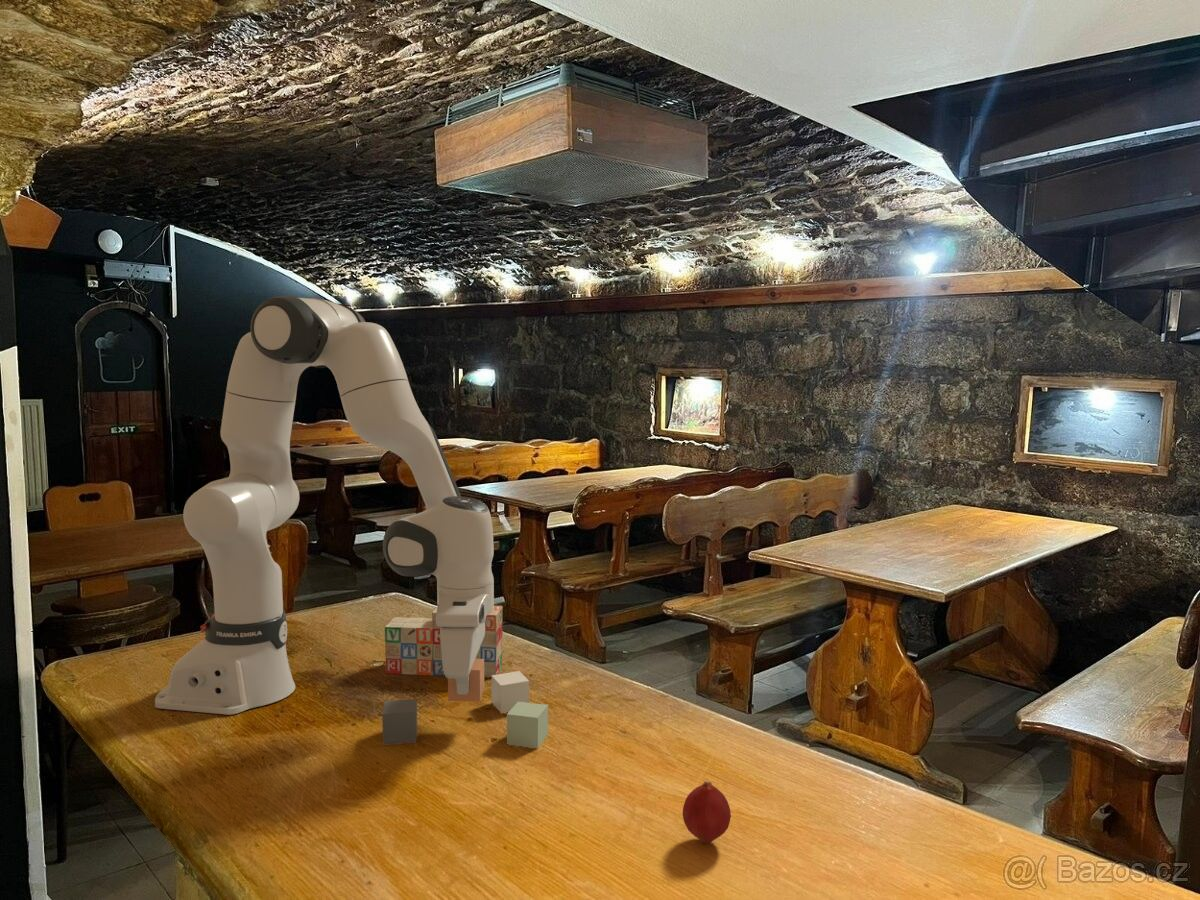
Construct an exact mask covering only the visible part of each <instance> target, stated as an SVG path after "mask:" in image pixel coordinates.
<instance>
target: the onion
mask: <svg viewBox="0 0 1200 900" xmlns="http://www.w3.org/2000/svg"><path fill="white" fill-rule="evenodd" d="M682 818H683V819H682V820H683V822H684V824H685V827H686V829H687V830H688V831H689V832H690V833H691V834H692V836H694V837H695V838H697V839H698V840H700V842H701V843H702V844H705V845H708V844H711V843H712V842H714V841H715V840H716V839H718V838H719V837H721V836H723V834H725V833H726V831H727V830H728V829H729V825H730V822H731V818H732V817H731V808H730V805H729V803H728V799H727V798H726V796H725V795H724V793H723V792H722V791H721V790H720V789H718V787H716V786H714V785H713V784H712V782H711V781H710V780H705V781H704V782H703V783H702V784H701V785H699V786H696V787H695V788H694V789H692V791H691V792H689V793H688V795H687V797H686V798H685V800H684V804H683V807H682Z"/></svg>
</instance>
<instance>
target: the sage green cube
mask: <svg viewBox="0 0 1200 900" xmlns="http://www.w3.org/2000/svg"><path fill="white" fill-rule="evenodd" d="M547 735H548V736H549V704H543V703H533V702H529V703H527V702H517V703H516V704H515V706H514V707H513V708H512V709H511V710H510V711H509V712H508V713H506V745H507V744H509V745H508V746H511V745H515V746H514V747H519V746H523V747H522V748H526V747H528V748H529V749H534V748H538V749H539V748H540V747H541V746H542V744H543V743H544V742H545V740H546V739H545V738H547V737H548V736H547ZM544 739H545V740H544ZM542 742H543V743H542ZM539 746H540V747H539ZM528 748H527V749H528Z"/></svg>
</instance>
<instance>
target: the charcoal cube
mask: <svg viewBox="0 0 1200 900" xmlns="http://www.w3.org/2000/svg"><path fill="white" fill-rule="evenodd" d="M381 713H382V714H381V715H382V745H383V744H384V745H383V746H386V745H385V744H391V745H400V744H399V743H405V744H414V743H413V742H416V743H417V741H418V740H417V738H418V699H417V698H415V699H399V700H398V699H396V700H385V701H384V704H383V709H382V712H381ZM416 740H417V741H416Z"/></svg>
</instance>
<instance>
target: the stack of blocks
mask: <svg viewBox="0 0 1200 900" xmlns="http://www.w3.org/2000/svg"><path fill="white" fill-rule="evenodd" d="M436 612H437V606H436V608H435V609H434V610H433V611H432V613H431V617H430V618H425V617H400V616H399V617H398V616H397V617H396V616H395V617H393V618H392V619H391V620H390V621H389V622H388V623H387V624H386V625H385V626H384V644H385V649H384V650H385V653H384V655H385V656H384V657H385V674H396V675H397V674H398V675H412V676H413V675H419V676H439V675H443V676H442V677H444V675H445V674H444V671H443V665H442V655H441V642H440V629H441V627H438V626H436ZM503 622H504V621H503V606H502V605H494V610H493V612H491V613H490V614H488V615H487V616H486V621H485V636H484V639H483V641H482V644H481V646H480V649H479V651H478V654H477V658H476V659H484V678H489V677H492V675H498V674H500V672H501V671H500V670H501V669H502V668H503V629H504V628H503V625H504V624H503Z"/></svg>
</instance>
